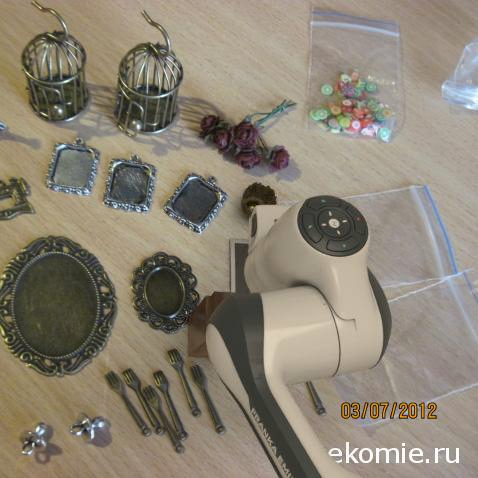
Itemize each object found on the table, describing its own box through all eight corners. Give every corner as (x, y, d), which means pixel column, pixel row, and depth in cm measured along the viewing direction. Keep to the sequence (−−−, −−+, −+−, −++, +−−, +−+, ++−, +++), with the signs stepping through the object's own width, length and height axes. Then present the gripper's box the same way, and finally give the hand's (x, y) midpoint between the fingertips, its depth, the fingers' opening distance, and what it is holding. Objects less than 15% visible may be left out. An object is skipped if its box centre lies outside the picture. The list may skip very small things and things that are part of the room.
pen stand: (226, 358, 113) (259, 338, 90) (187, 356, 112) (211, 336, 89) (225, 320, 116) (258, 290, 92) (188, 318, 115) (211, 287, 92)
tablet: (305, 343, 116) (307, 342, 115) (230, 339, 115) (231, 338, 114) (299, 244, 123) (301, 242, 122) (229, 239, 122) (230, 238, 121)
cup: (271, 205, 126) (282, 190, 118) (260, 232, 123) (270, 219, 116) (241, 192, 126) (250, 176, 119) (229, 218, 124) (238, 204, 116)
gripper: (312, 357, 64) (276, 370, 77) (302, 197, 71) (271, 234, 84) (260, 354, 64) (232, 368, 77) (254, 193, 71) (230, 231, 84)
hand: (252, 297), depth 80 cm, fingers open, 8 cm apart
